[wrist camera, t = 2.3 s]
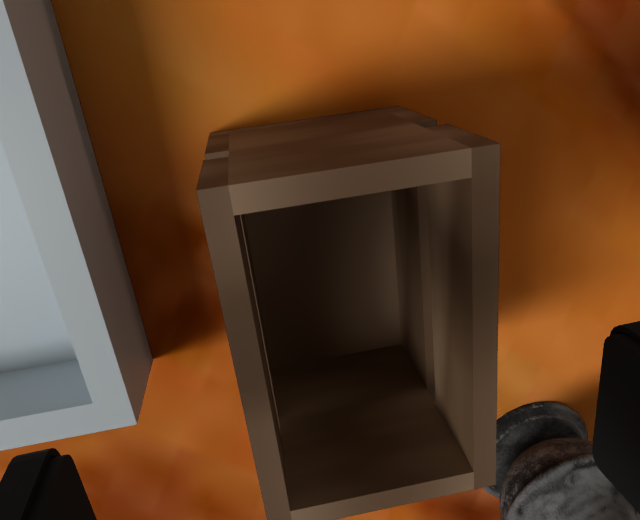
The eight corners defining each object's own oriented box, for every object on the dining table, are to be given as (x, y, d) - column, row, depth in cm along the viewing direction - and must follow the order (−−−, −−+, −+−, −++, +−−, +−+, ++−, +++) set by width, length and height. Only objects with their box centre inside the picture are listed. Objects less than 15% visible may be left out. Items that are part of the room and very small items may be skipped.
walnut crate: (398, 105, 17) (500, 143, 11) (412, 346, 20) (495, 484, 14) (209, 133, 16) (196, 190, 10) (257, 375, 20) (270, 533, 13)
